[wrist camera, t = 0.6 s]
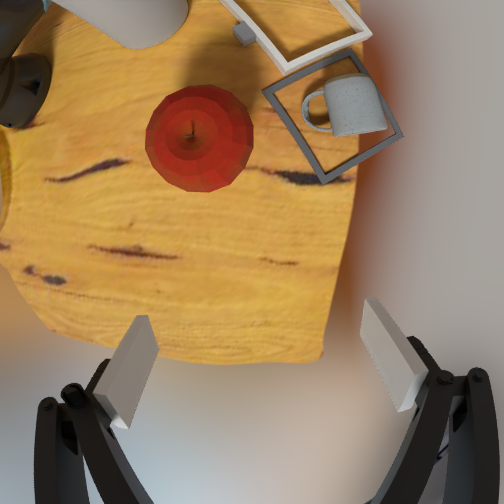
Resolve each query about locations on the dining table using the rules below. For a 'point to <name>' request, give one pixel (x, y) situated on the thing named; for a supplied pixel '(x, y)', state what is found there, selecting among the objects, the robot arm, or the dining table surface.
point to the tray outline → (298, 137)
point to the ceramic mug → (349, 105)
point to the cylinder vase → (131, 19)
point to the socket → (252, 33)
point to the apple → (199, 138)
